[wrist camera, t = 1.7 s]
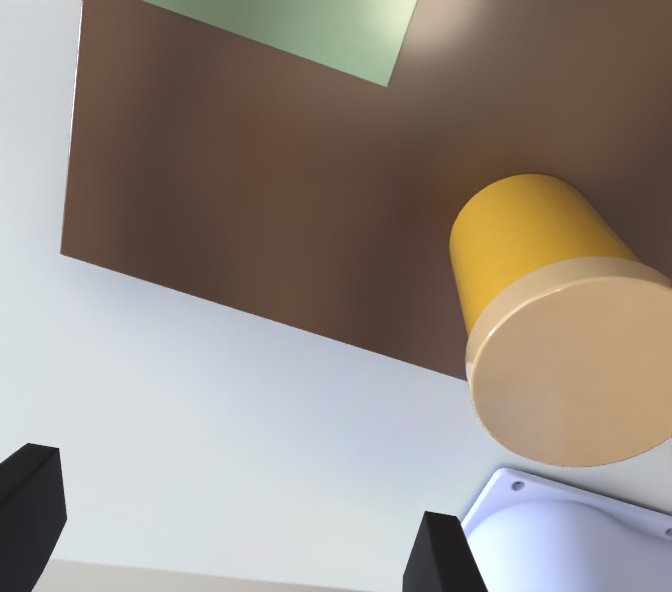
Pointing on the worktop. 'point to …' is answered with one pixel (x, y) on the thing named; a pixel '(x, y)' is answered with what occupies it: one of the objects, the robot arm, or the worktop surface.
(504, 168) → the walnut board
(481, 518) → the robot arm
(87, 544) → the worktop surface
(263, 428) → the worktop surface
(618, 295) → the spice jar
